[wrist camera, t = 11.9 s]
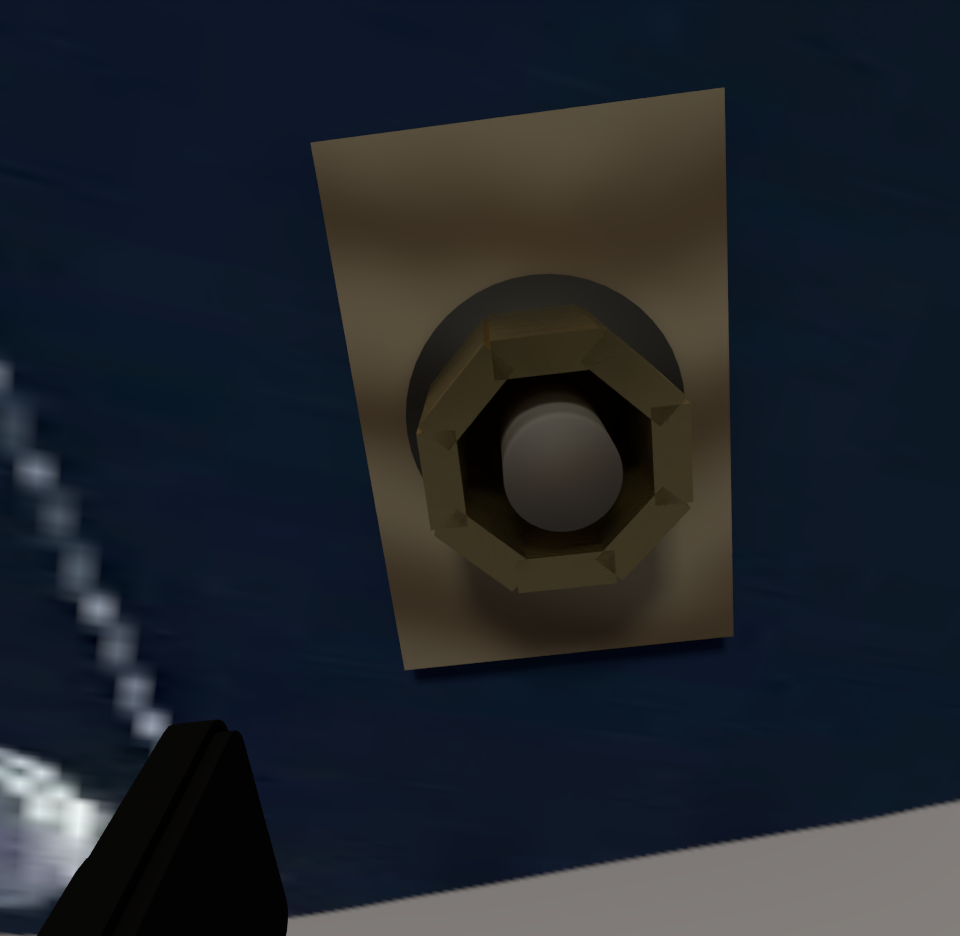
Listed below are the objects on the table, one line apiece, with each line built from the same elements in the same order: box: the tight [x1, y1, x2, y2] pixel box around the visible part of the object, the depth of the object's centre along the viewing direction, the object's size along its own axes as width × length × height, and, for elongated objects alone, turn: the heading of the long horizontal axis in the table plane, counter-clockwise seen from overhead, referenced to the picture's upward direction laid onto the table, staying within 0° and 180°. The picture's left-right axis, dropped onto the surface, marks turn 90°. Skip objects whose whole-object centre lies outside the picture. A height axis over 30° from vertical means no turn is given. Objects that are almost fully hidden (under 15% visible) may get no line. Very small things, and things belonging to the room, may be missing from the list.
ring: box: [416, 304, 693, 593], centre depth 22 cm, size 7×7×5 cm
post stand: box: [311, 88, 733, 670], centre depth 23 cm, size 18×12×8 cm, turn 7°
